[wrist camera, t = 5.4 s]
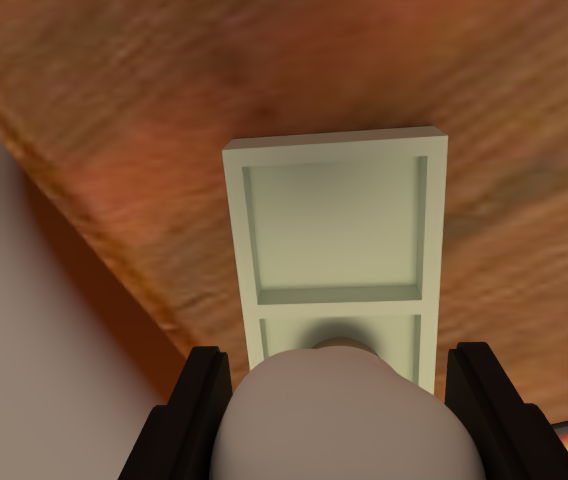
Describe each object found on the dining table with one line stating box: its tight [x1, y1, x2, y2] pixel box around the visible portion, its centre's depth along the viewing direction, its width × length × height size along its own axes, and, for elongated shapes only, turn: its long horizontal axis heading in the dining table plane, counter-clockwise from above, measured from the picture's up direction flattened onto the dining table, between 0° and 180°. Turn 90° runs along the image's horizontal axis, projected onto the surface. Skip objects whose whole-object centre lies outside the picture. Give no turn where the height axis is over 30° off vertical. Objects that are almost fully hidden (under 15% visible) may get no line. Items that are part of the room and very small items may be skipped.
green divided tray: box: [222, 126, 448, 395], centre depth 24 cm, size 16×10×3 cm, turn 5°
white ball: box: [209, 346, 486, 480], centre depth 9 cm, size 5×5×5 cm
